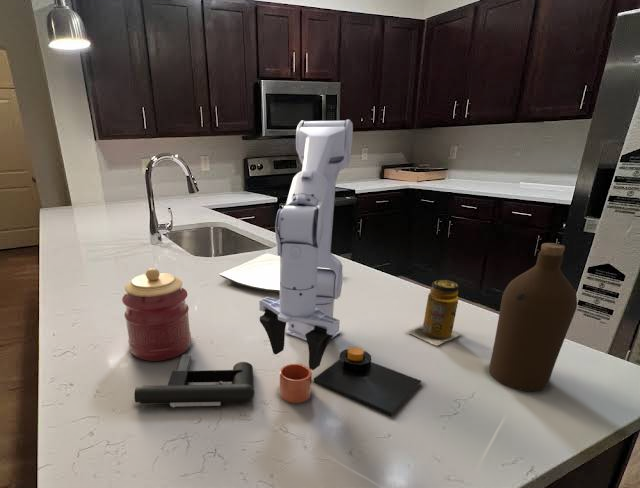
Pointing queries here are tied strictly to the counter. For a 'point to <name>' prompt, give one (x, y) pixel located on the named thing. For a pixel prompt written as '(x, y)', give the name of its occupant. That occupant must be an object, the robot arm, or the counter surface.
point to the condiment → (439, 313)
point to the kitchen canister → (156, 316)
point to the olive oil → (533, 323)
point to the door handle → (200, 386)
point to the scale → (368, 383)
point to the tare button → (355, 354)
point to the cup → (295, 383)
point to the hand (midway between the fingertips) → (295, 359)
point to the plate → (258, 273)
